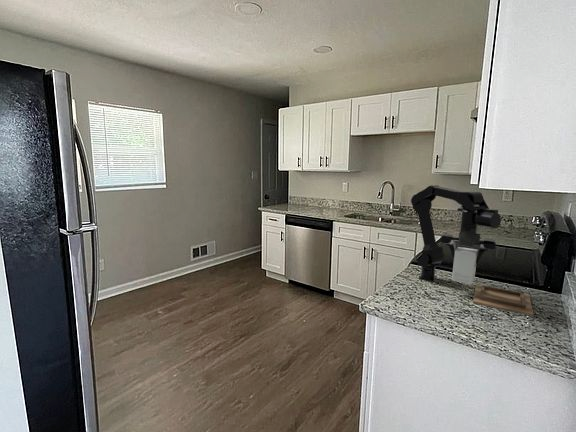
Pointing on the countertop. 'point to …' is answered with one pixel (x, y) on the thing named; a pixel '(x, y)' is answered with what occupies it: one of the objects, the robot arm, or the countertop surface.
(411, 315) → the countertop surface
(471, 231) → the robot arm
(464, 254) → the supplement box
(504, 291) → the wooden tray
